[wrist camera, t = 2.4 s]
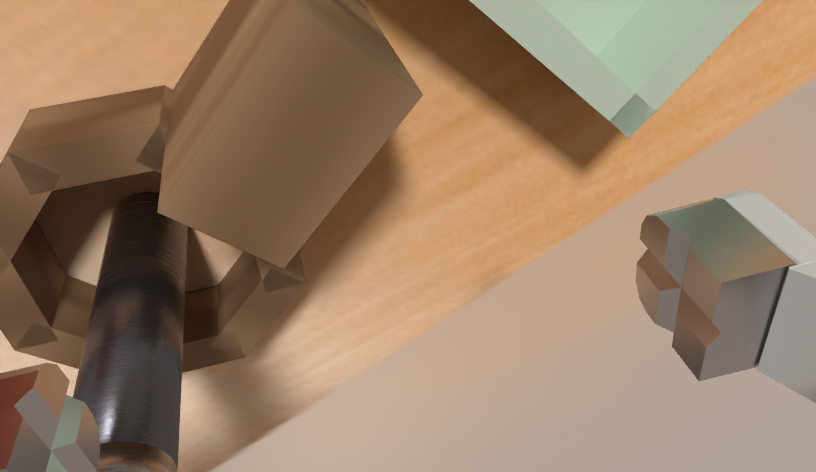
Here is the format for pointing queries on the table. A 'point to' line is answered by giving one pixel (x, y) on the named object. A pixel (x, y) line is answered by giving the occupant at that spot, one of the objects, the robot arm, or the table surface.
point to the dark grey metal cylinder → (137, 340)
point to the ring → (210, 167)
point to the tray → (620, 46)
